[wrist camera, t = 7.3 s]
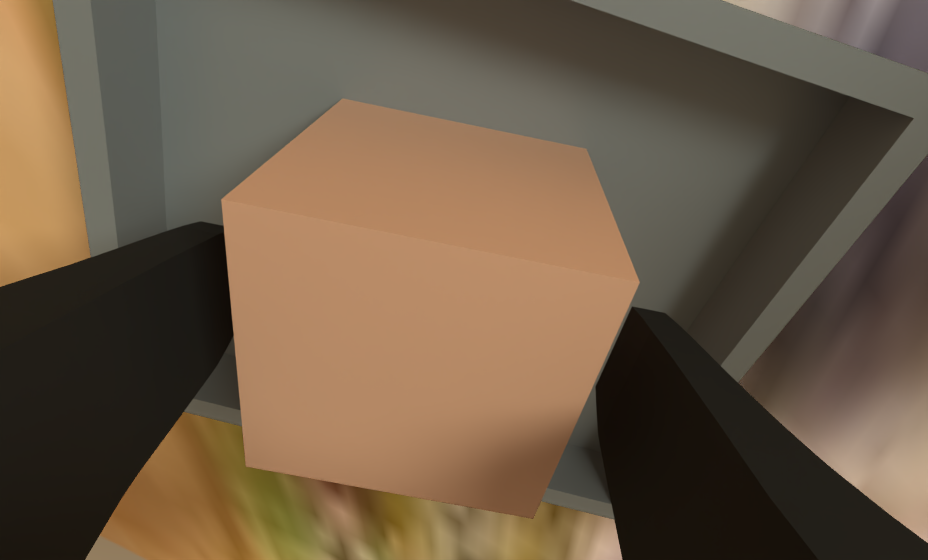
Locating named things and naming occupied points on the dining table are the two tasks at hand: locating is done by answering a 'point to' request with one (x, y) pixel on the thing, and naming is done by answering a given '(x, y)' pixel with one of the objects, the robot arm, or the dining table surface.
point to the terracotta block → (421, 305)
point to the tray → (523, 113)
